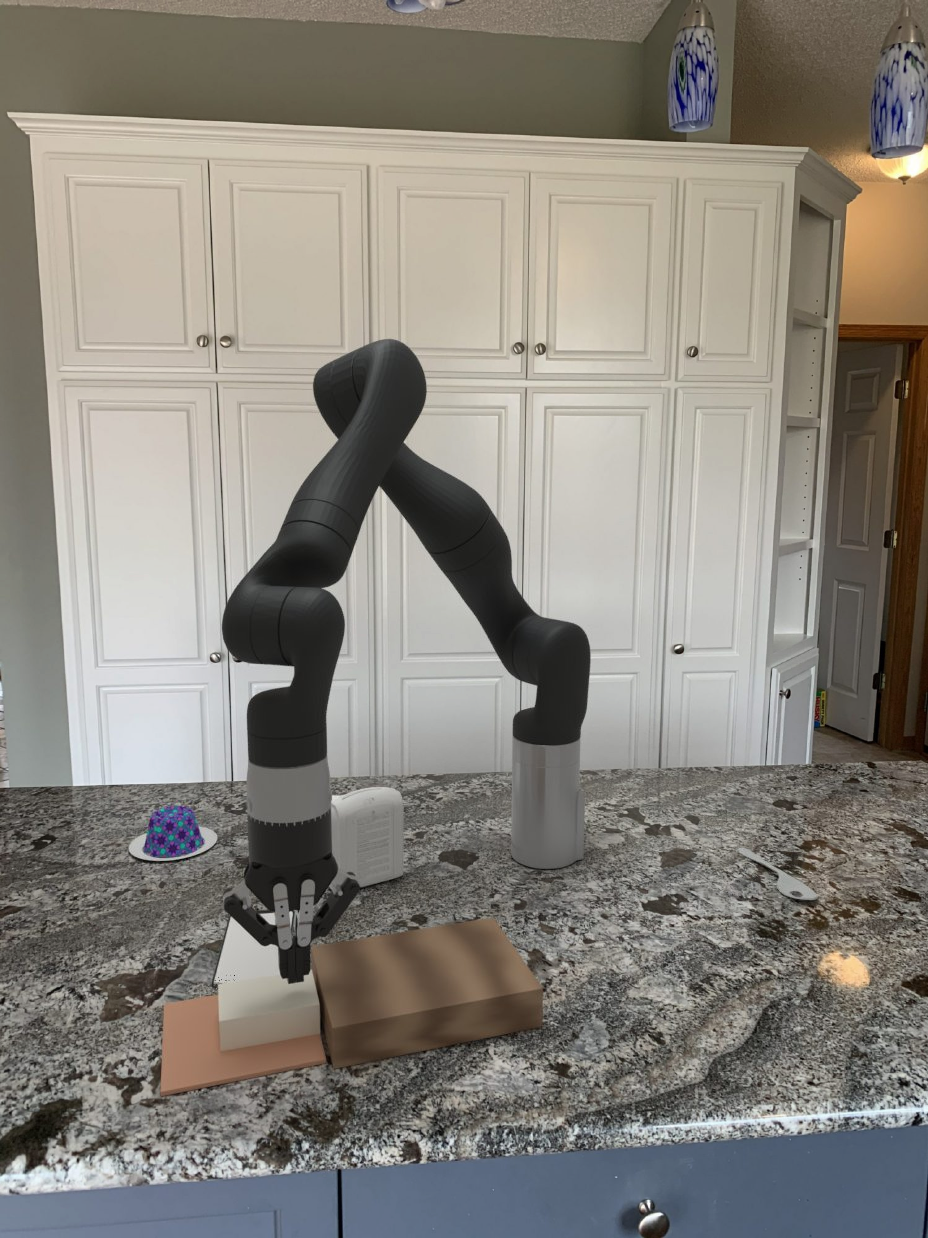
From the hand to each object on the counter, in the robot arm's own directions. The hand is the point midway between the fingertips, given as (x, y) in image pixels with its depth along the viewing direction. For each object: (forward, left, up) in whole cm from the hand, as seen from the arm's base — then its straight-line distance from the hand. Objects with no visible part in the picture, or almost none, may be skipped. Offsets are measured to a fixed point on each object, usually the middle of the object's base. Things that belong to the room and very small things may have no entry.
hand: (294, 978), depth 82 cm
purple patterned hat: (+12, -47, -6) cm, 49 cm away
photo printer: (-12, -28, -5) cm, 31 cm away
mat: (+5, -1, -5) cm, 7 cm away
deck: (-12, 0, -5) cm, 14 cm away
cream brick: (+2, -1, -5) cm, 5 cm away
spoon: (-64, -15, -6) cm, 66 cm away
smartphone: (+2, -16, -6) cm, 17 cm away
